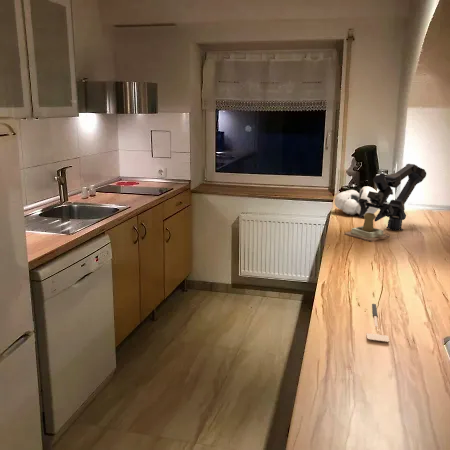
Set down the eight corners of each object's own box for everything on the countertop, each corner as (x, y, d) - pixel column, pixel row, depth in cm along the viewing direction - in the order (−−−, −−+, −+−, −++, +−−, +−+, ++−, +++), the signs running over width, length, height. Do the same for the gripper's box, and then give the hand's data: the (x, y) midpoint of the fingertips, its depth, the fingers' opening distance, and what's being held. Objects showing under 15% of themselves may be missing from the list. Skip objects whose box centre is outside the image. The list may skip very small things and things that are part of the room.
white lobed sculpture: (341, 196, 321) (350, 170, 305) (377, 215, 313) (388, 189, 297) (326, 214, 309) (335, 188, 293) (363, 234, 301) (375, 208, 285)
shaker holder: (363, 230, 269) (364, 224, 268) (389, 237, 257) (390, 230, 256) (344, 234, 259) (345, 228, 258) (370, 241, 247) (371, 235, 246)
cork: (363, 231, 262) (365, 211, 259) (374, 233, 259) (377, 213, 256) (359, 234, 257) (362, 213, 254) (371, 236, 254) (374, 215, 251)
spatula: (366, 343, 144) (367, 338, 144) (364, 304, 172) (364, 300, 172) (389, 346, 143) (389, 341, 142) (383, 306, 171) (383, 302, 170)
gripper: (361, 182, 261) (346, 205, 257) (393, 188, 247) (377, 213, 243) (369, 196, 268) (354, 219, 264) (400, 202, 254) (385, 226, 250)
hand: (367, 219), depth 255 cm, fingers open, 9 cm apart
